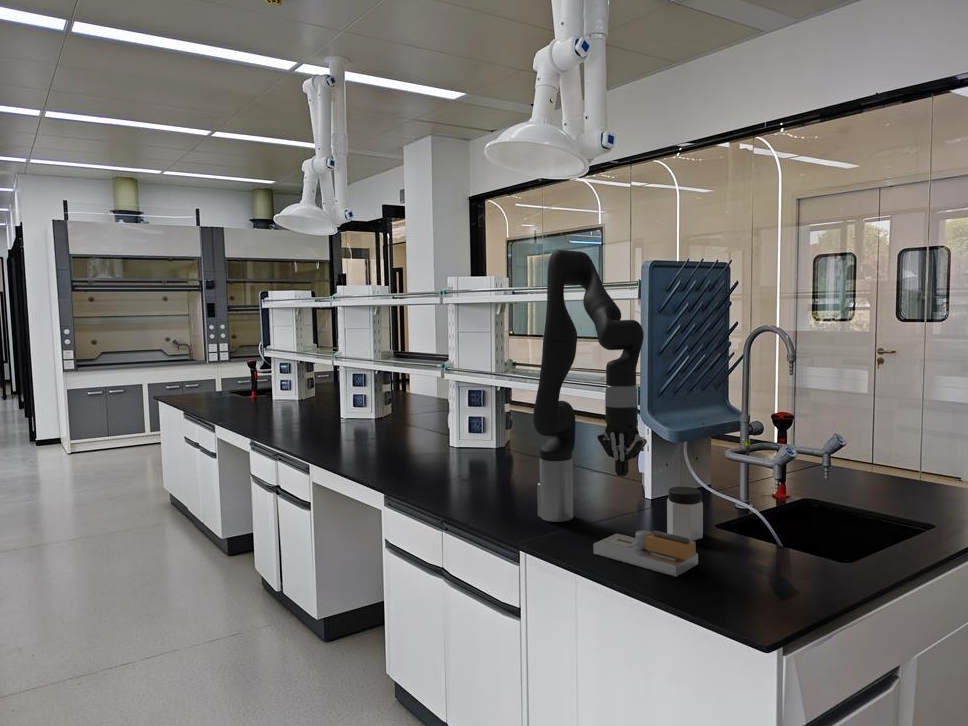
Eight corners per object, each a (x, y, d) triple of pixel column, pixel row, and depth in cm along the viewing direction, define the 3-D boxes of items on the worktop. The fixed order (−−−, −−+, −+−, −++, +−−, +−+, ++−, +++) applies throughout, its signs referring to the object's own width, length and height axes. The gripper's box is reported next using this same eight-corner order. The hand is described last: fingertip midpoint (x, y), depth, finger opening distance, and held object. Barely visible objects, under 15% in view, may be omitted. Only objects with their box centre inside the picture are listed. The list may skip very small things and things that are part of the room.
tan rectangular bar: (632, 545, 162) (632, 528, 161) (641, 541, 164) (641, 524, 164) (686, 559, 152) (686, 541, 151) (695, 555, 154) (695, 536, 154)
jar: (707, 540, 173) (707, 494, 172) (675, 542, 173) (675, 495, 172) (694, 529, 182) (694, 485, 181) (663, 531, 182) (663, 486, 181)
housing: (593, 553, 166) (593, 542, 166) (616, 543, 173) (616, 532, 173) (675, 576, 150) (675, 564, 150) (698, 564, 158) (697, 552, 157)
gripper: (589, 403, 165) (590, 474, 167) (636, 408, 156) (637, 483, 157) (607, 400, 171) (607, 468, 172) (654, 404, 161) (654, 476, 163)
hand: (622, 475), depth 165 cm, fingers closed
